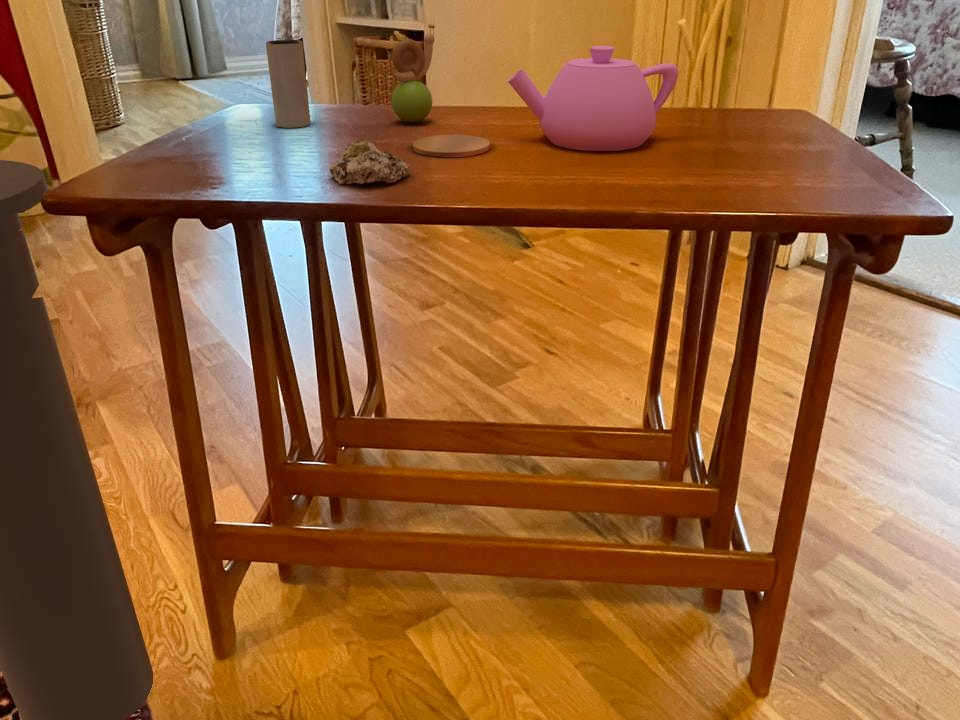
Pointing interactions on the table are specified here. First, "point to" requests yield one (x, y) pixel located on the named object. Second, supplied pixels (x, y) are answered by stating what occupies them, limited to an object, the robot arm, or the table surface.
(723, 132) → the table surface
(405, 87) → the snail figurine
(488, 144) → the cork coaster
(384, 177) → the mineral rock
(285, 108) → the grey cylinder
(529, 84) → the teapot
